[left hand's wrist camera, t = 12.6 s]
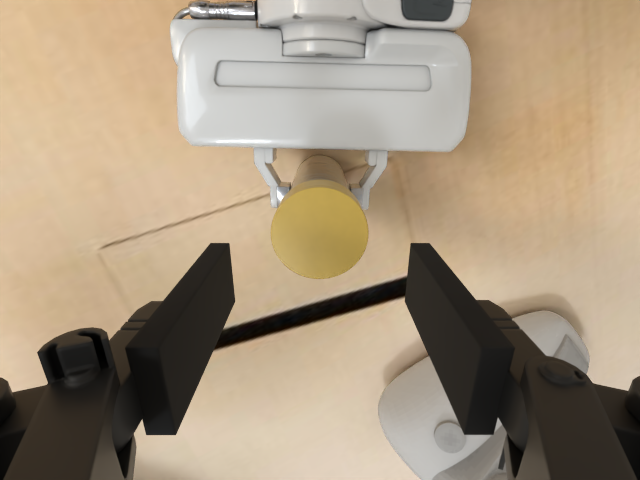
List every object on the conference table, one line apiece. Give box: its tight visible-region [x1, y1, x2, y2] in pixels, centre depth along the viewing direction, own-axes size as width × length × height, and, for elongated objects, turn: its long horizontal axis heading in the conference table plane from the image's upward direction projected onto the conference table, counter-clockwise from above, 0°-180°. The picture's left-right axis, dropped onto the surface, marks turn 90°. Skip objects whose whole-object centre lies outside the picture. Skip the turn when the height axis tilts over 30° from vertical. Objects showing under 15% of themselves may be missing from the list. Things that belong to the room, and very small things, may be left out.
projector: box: [378, 311, 589, 480], centre depth 35 cm, size 22×23×15 cm
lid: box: [271, 179, 368, 279], centre depth 20 cm, size 5×5×2 cm
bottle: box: [290, 155, 350, 190], centre depth 26 cm, size 5×5×16 cm
